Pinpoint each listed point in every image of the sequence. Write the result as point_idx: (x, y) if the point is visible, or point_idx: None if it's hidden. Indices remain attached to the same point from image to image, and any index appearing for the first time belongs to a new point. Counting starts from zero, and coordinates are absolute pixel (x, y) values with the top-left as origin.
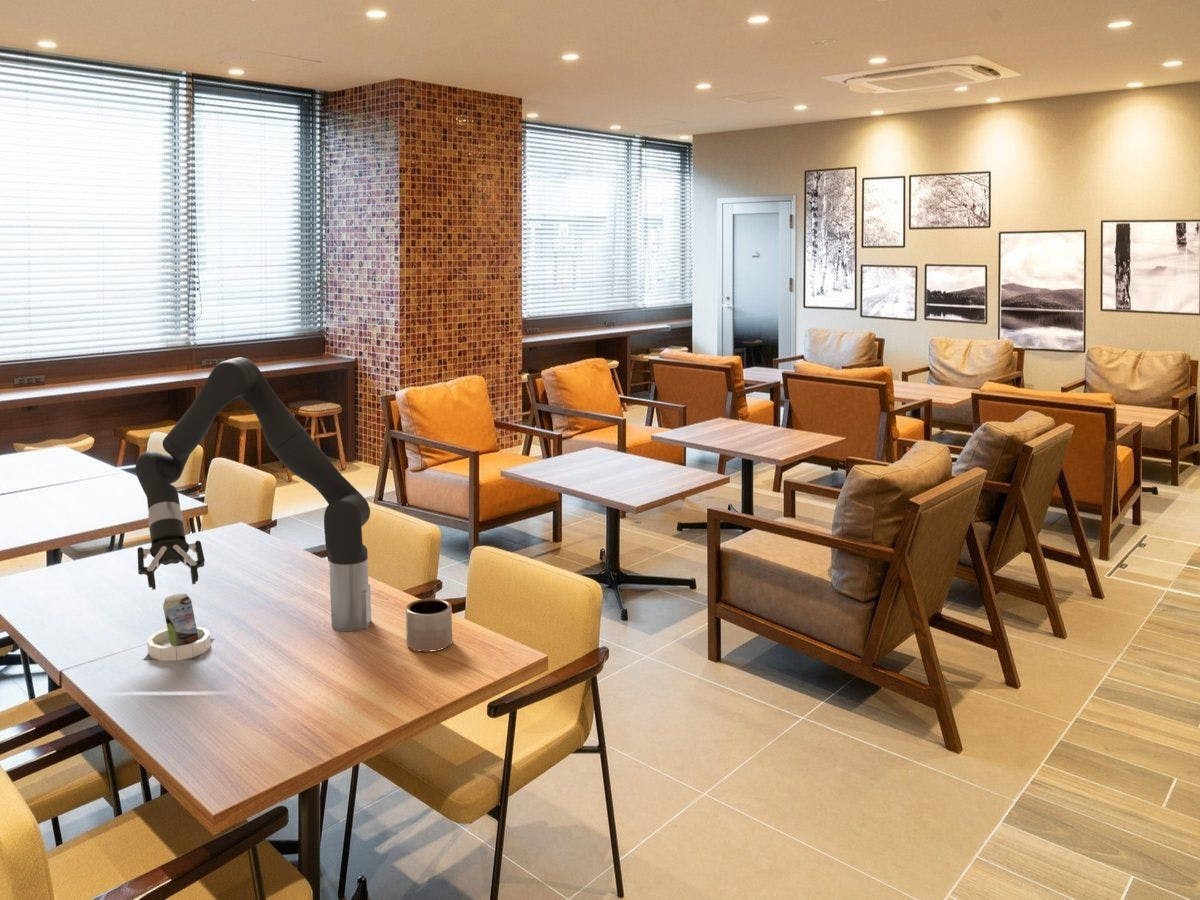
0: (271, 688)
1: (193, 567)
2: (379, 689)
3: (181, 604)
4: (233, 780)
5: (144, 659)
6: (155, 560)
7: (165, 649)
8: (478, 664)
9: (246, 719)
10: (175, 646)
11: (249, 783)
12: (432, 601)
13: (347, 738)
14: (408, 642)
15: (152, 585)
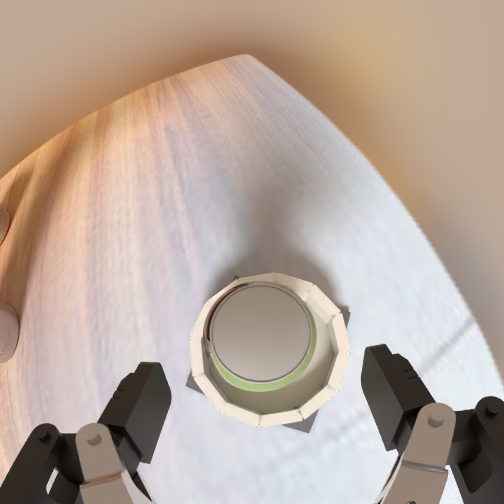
0: (152, 161)
1: (111, 420)
2: (76, 149)
3: (243, 283)
4: (231, 65)
5: (346, 313)
6: (422, 476)
7: (301, 281)
8: (9, 184)
9: (201, 112)
10: (277, 283)
11: (222, 63)
12: None
13: (141, 92)
14: (5, 223)
15: (382, 344)
